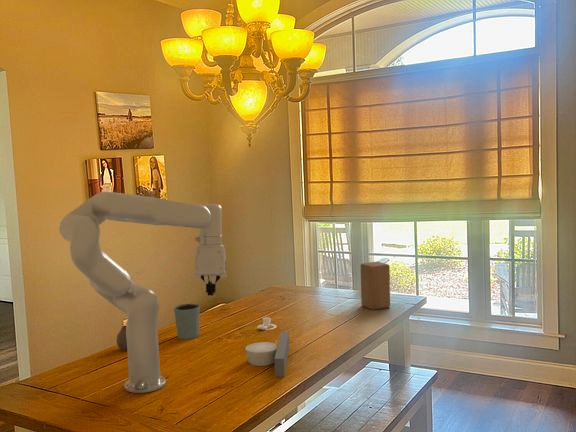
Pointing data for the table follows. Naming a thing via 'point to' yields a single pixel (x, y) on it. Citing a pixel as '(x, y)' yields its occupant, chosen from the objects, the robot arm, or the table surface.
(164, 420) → the table surface
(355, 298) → the table surface
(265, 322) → the white ring with peg
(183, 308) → the blue-grey plant pot
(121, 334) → the vase
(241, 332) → the table surface
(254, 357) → the ramekin
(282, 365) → the board
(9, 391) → the table surface
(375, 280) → the wooden block
